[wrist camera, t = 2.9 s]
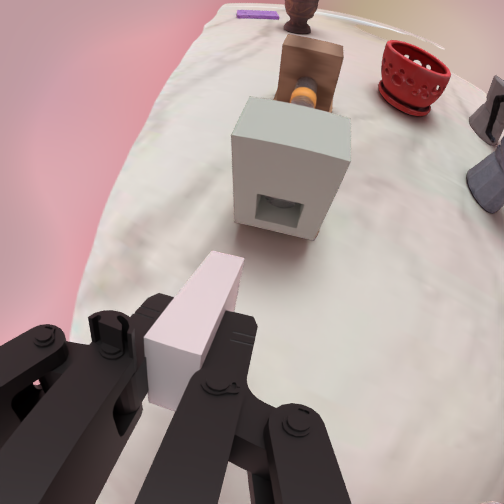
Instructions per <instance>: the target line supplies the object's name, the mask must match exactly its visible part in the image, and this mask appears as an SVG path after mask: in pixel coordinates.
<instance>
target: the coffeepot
mask: <svg viewBox="0 0 504 504" xmlns="http://www.w3.org/2000/svg"><path fill="white" fill-rule="evenodd" d="M497 95H504V80H502V79H501V78H499V77H498V76H494V78H493V80H492V83H491V87H490V89H489V92H488V94H487V97H486V98H487V101H486V102H485V104H482V105H481V106H480V108H479V109H478V110H477V111H476V112H475V113H474V114H473V115H472V116H471V117H470V118H469V123H470V125H471V127H472V129H473V130H474V131H475V132H476V134H477V135H478V136H479V137H480V138H481V139H483V140H484V141H485V142H486V143H488V144H490V145H496V144H497V142H498V140H499V138H500V136H501V134H502V131H503V129H504V102H501V103H500V108H499V111H498V115H497V118H496V120H495V123H494V124H493V130H492V135H493V137H494V138H495V139H496V142H494V143H492V142H491V141H490V139H489V138H488V136H487V135H486V133H485V131H486V128H487V126H488V122H489V117H490V115H491V110H492V105H493V101H494V98H495V96H497Z"/></svg>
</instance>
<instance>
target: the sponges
mask: <svg viewBox="0 0 504 504" xmlns="http://www.w3.org/2000/svg"><path fill="white" fill-rule="evenodd" d="M237 18H256V19H257V18H258V19H279V15H278V14H277V12H276V11H256V10H254V11H253V10H237Z"/></svg>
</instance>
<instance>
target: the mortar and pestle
mask: <svg viewBox="0 0 504 504" xmlns="http://www.w3.org/2000/svg"><path fill="white" fill-rule="evenodd" d="M318 1H319V0H285V8H286V12H287V14H288V15H289V16H290V20H289V21H288V22H286V23H285V25H284V29H285V30H287V31H289V32H292V33H299V34H305V33H310V32H311V29H310V26H309V25H308V24H307V21H308V19H310V18H312V17H313V16H314V13H315V12H316V10H317V6H318Z"/></svg>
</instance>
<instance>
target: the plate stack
mask: <svg viewBox="0 0 504 504" xmlns="http://www.w3.org/2000/svg"><path fill="white" fill-rule="evenodd" d="M480 504H501V503H498V502H494V501H487V502H483V503H480Z"/></svg>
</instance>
